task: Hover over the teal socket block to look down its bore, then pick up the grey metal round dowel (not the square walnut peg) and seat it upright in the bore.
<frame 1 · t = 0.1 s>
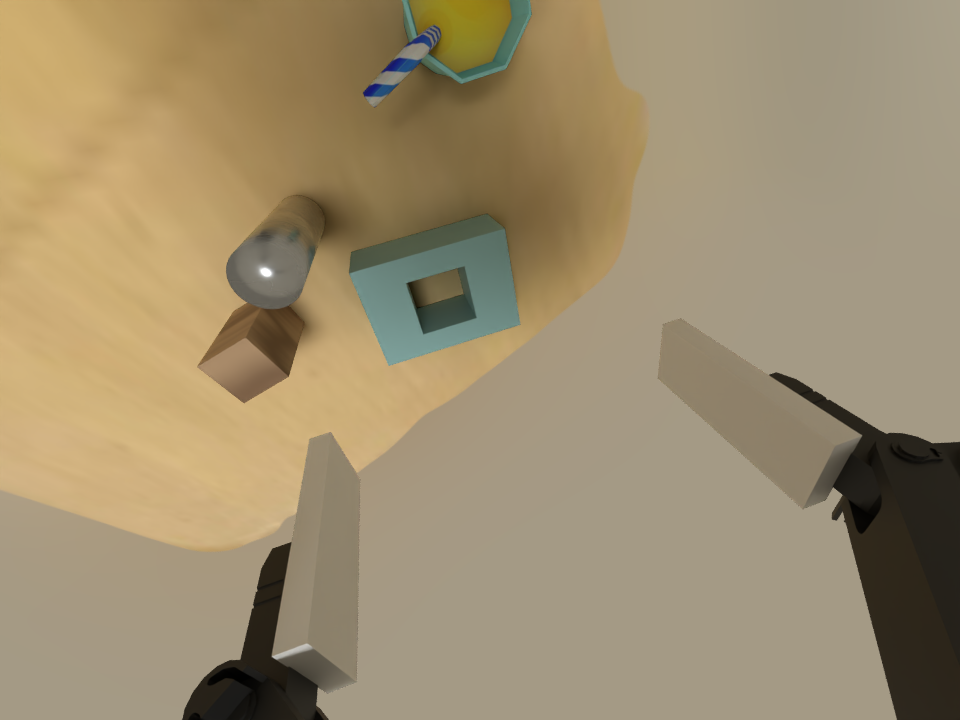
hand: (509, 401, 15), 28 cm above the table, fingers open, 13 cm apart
round dowel: (301, 219, 34), on the table
cup: (429, 40, 30), on the table
socket block: (433, 278, 40), on the table
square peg: (270, 317, 38), on the table
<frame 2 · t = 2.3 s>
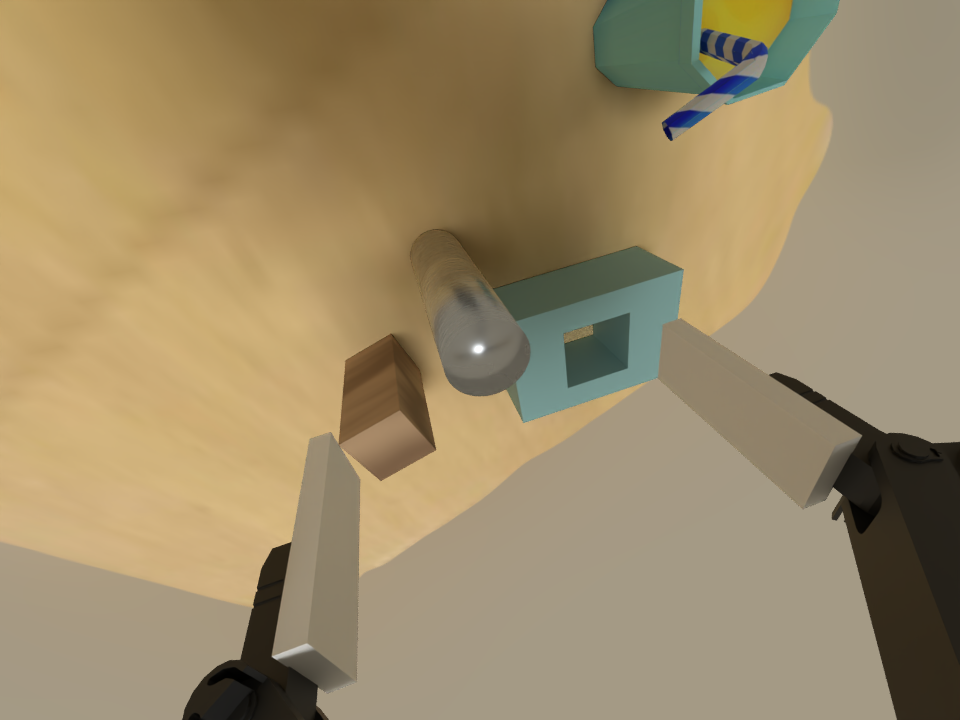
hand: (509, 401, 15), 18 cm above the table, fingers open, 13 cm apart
round dowel: (436, 256, 29), on the table
cup: (616, 46, 25), on the table
socket block: (565, 318, 35), on the table
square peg: (383, 365, 33), on the table
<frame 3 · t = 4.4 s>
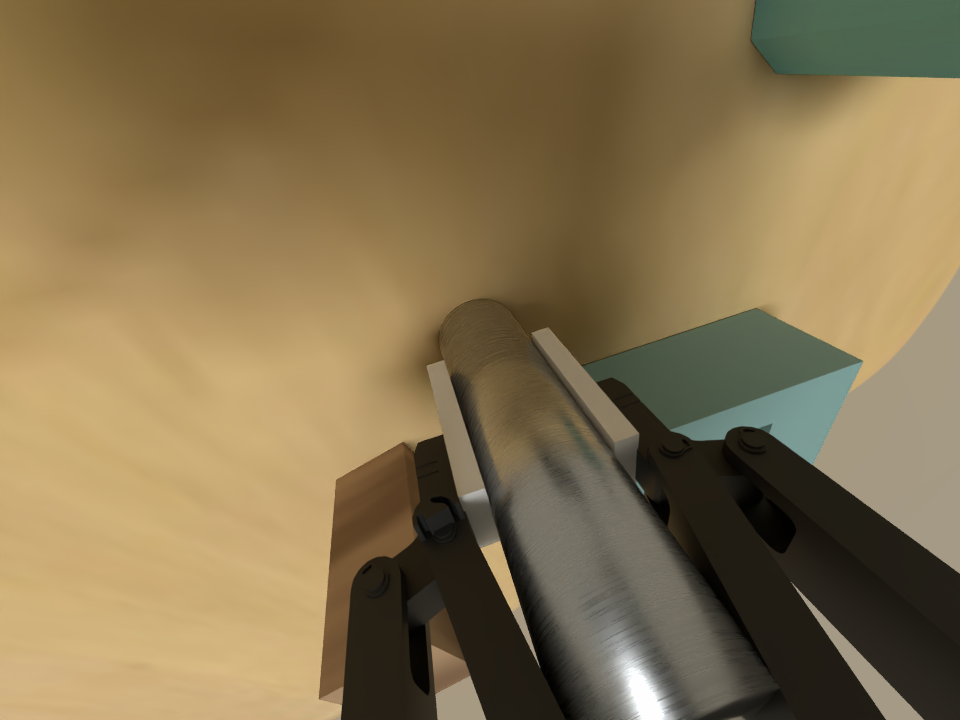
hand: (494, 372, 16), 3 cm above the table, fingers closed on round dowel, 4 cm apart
round dowel: (478, 336, 19), on the table, touching gripper
cup: (787, 6, 15), on the table
socket block: (646, 405, 25), on the table
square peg: (391, 481, 23), on the table
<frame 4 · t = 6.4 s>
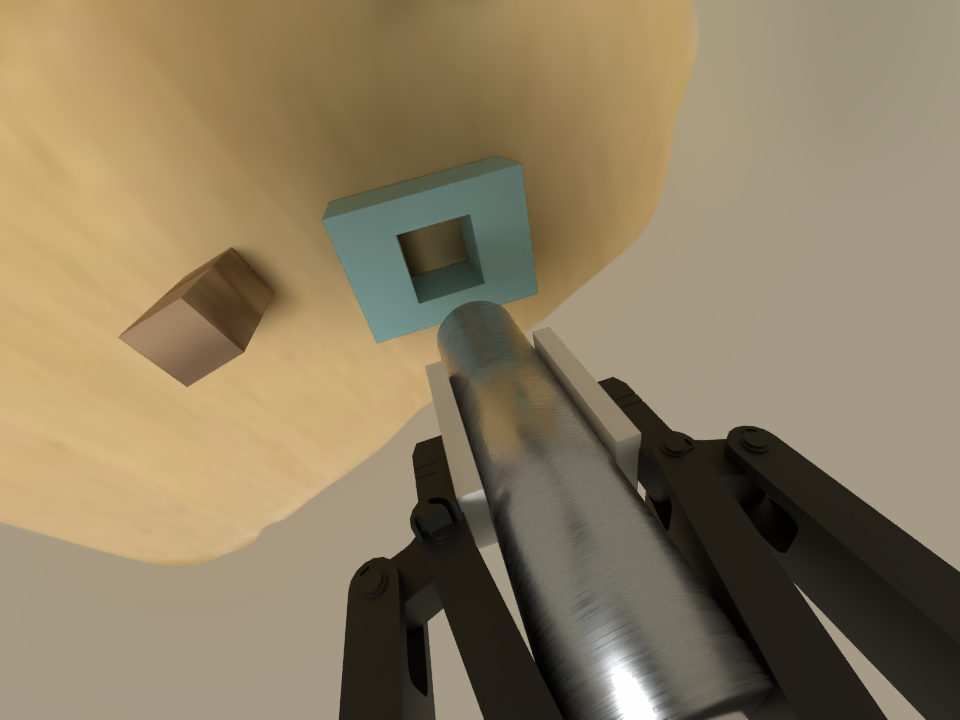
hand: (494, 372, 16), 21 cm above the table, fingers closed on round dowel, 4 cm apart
round dowel: (476, 337, 19), point 18 cm above the table, touching gripper
socket block: (431, 239, 33), on the table
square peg: (231, 284, 31), on the table
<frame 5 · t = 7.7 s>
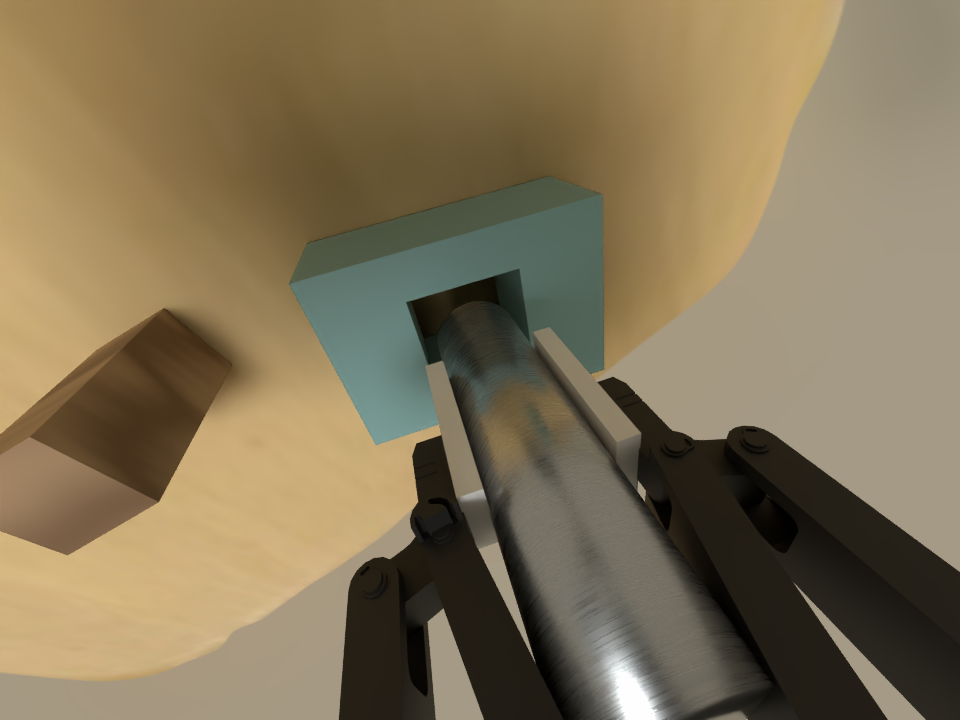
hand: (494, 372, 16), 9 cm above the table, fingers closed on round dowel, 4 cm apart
round dowel: (476, 337, 19), point 6 cm above the table, touching gripper
socket block: (453, 289, 24), on the table
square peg: (168, 357, 22), on the table
when the fingers open (7 cm above the table, at t = 8.4 s): round dowel drops 4 cm, resting in socket block.
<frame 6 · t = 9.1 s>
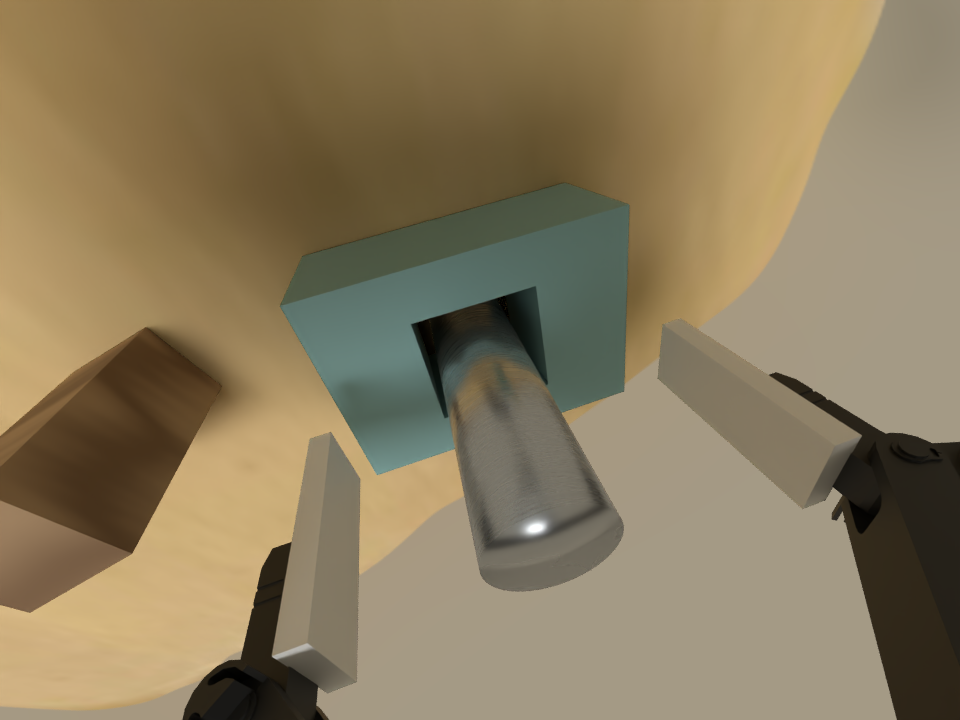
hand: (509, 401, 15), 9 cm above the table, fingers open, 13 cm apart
round dowel: (461, 305, 22), resting in socket block
socket block: (460, 304, 22), on the table
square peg: (151, 379, 20), on the table
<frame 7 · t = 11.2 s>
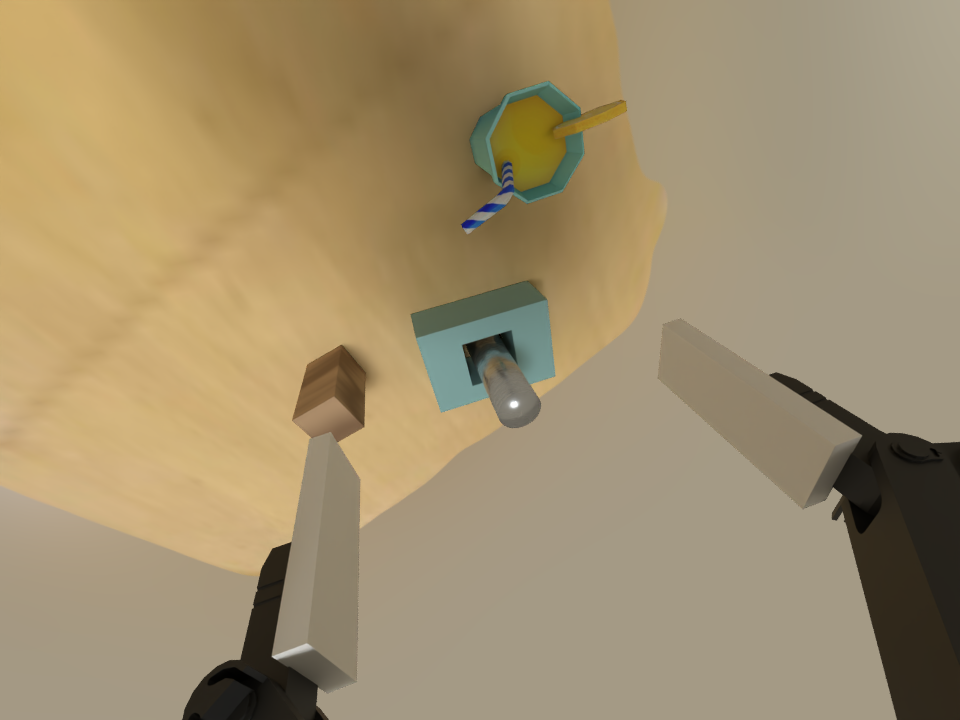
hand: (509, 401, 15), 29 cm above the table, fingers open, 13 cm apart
round dowel: (478, 334, 46), resting in socket block
cup: (488, 150, 36), on the table
socket block: (478, 334, 46), on the table
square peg: (337, 368, 44), on the table
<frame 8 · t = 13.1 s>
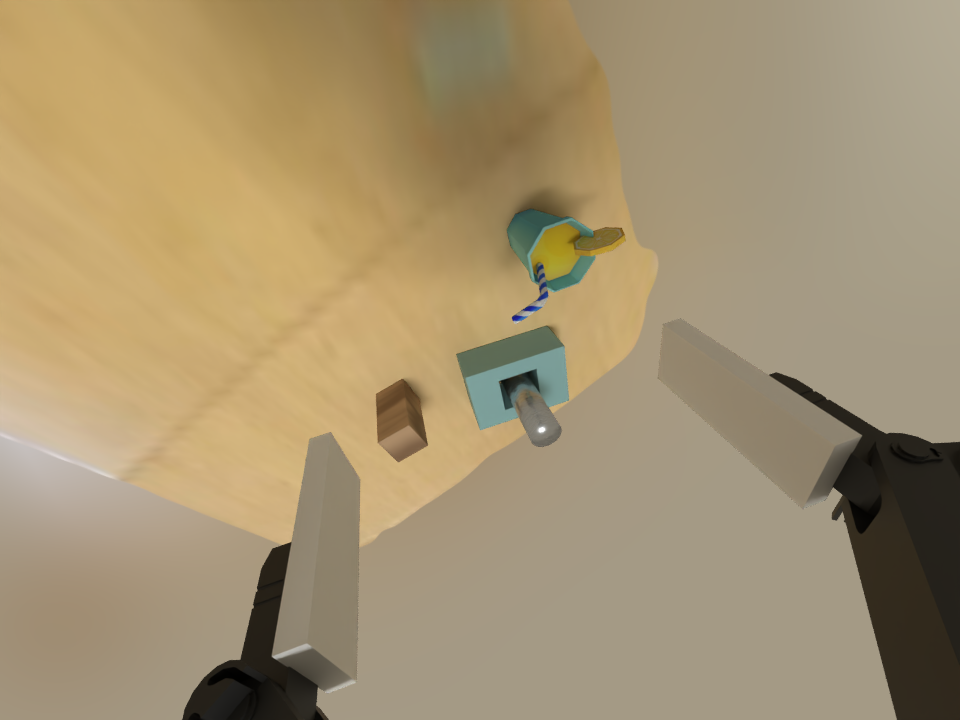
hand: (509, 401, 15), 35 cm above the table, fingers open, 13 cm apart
round dowel: (507, 366, 58), resting in socket block
cup: (520, 235, 48), on the table
socket block: (507, 366, 58), on the table
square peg: (398, 396, 56), on the table
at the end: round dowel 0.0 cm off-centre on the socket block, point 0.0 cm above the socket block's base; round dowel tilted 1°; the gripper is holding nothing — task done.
